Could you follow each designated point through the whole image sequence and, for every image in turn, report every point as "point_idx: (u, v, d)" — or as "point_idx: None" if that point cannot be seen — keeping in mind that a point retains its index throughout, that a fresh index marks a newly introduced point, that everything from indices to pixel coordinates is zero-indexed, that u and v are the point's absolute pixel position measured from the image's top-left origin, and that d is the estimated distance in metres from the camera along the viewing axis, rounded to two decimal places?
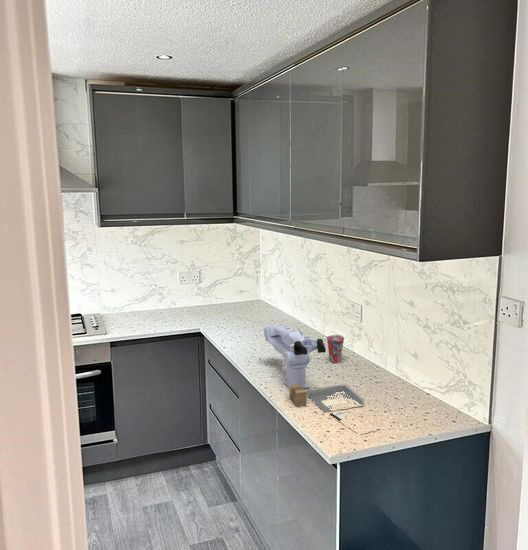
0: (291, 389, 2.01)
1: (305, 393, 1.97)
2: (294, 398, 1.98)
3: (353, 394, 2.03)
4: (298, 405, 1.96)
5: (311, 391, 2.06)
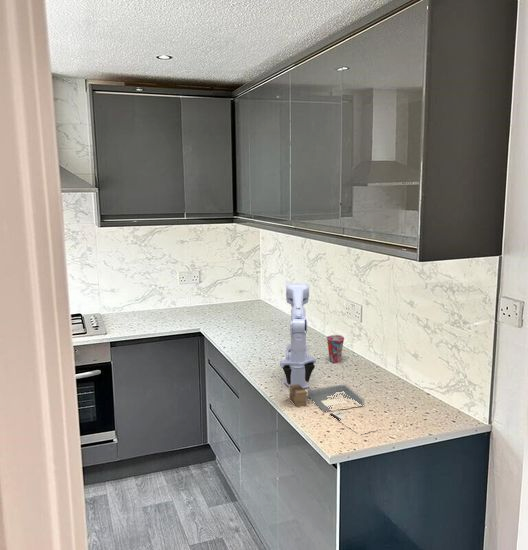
0: (291, 389, 2.01)
1: (305, 393, 1.97)
2: (294, 398, 1.98)
3: (353, 394, 2.03)
4: (298, 405, 1.96)
5: (311, 391, 2.06)
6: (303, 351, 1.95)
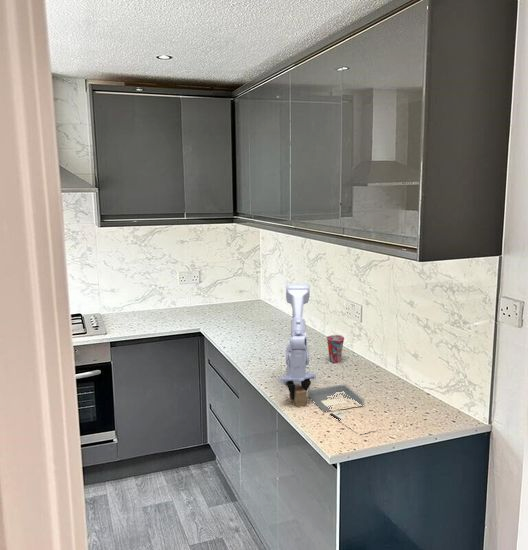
0: None
1: (305, 393, 1.97)
2: (294, 397, 1.98)
3: (353, 394, 2.03)
4: (298, 405, 1.96)
5: (311, 391, 2.06)
6: (303, 367, 1.96)
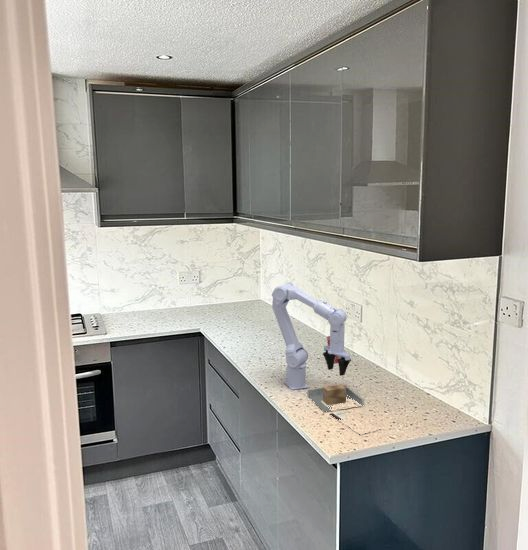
0: None
1: (326, 391, 1.96)
2: None
3: (353, 394, 2.03)
4: (323, 400, 2.00)
5: (311, 391, 2.06)
6: (333, 342, 2.03)
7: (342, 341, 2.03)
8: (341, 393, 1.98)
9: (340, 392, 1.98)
